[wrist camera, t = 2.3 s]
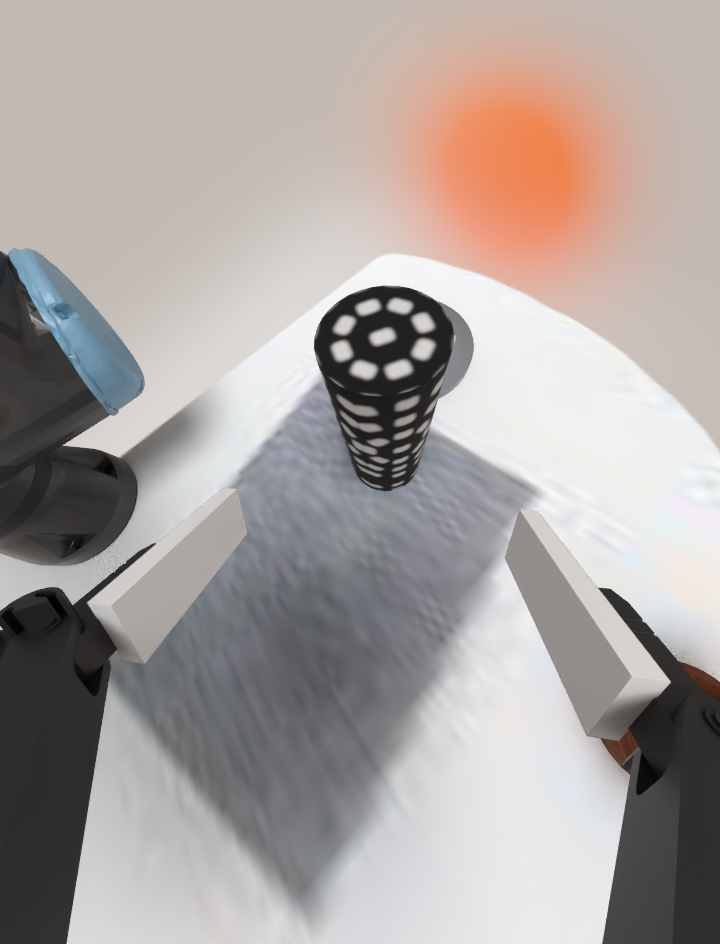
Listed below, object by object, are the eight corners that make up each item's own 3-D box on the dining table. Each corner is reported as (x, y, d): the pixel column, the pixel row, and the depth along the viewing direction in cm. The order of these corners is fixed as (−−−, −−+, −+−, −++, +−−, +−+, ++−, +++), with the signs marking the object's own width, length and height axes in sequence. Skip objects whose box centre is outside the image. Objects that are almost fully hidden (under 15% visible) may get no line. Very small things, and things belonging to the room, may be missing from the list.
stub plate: (338, 403, 39) (335, 392, 36) (352, 306, 44) (349, 290, 42) (472, 407, 37) (479, 395, 34) (468, 304, 42) (473, 288, 40)
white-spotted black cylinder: (403, 421, 37) (420, 269, 18) (429, 477, 34) (480, 366, 15) (344, 442, 37) (299, 311, 18) (365, 500, 34) (337, 416, 15)
